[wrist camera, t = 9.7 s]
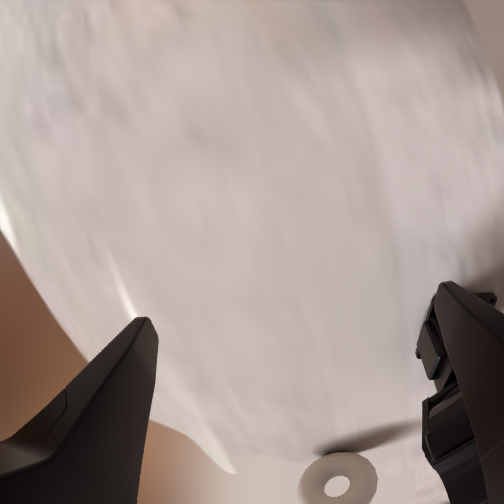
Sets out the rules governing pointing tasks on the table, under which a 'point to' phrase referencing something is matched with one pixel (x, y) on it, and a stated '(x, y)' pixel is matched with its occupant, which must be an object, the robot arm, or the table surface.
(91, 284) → the table surface
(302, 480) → the donut
